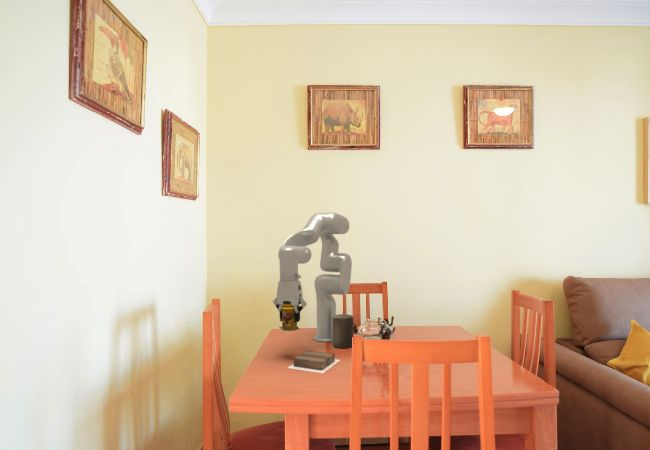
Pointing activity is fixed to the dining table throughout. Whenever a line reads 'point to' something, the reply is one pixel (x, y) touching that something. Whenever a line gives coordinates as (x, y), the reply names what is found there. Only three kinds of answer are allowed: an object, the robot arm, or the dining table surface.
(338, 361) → the base board
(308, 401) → the dining table surface
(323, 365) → the plinth
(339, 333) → the pillar candle
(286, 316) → the condiment
